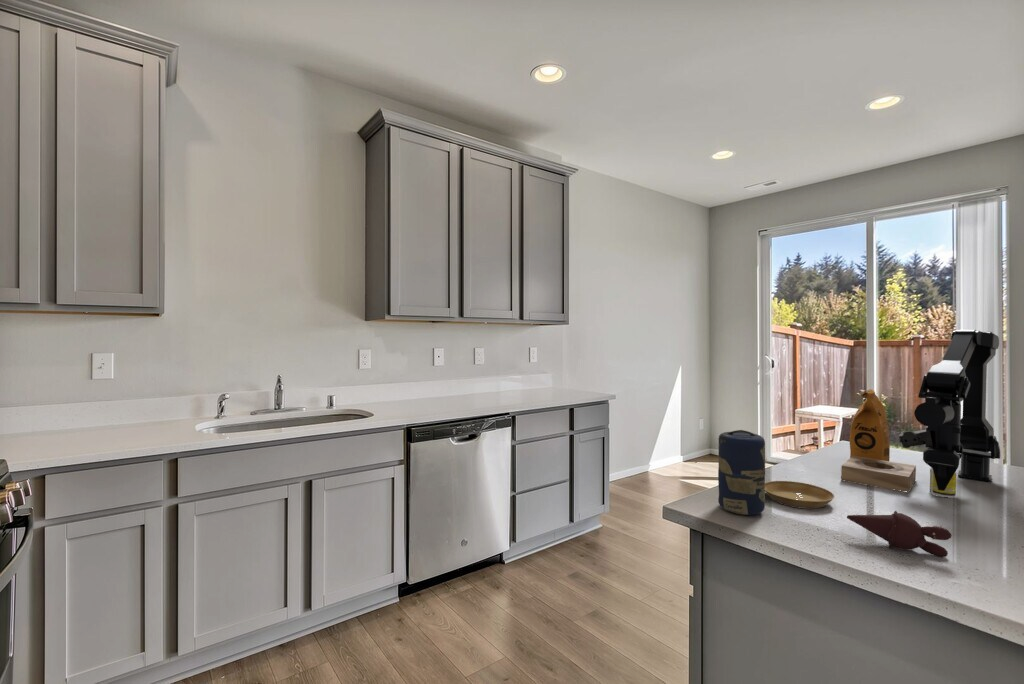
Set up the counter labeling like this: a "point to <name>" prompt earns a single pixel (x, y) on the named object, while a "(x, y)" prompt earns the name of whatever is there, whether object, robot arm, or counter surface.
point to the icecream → (903, 532)
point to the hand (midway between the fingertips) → (942, 485)
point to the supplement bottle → (950, 488)
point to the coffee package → (870, 430)
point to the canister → (741, 472)
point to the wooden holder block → (879, 473)
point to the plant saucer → (810, 493)
